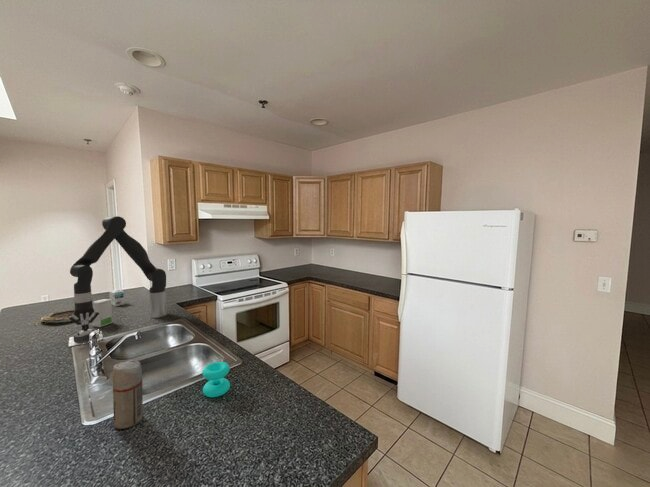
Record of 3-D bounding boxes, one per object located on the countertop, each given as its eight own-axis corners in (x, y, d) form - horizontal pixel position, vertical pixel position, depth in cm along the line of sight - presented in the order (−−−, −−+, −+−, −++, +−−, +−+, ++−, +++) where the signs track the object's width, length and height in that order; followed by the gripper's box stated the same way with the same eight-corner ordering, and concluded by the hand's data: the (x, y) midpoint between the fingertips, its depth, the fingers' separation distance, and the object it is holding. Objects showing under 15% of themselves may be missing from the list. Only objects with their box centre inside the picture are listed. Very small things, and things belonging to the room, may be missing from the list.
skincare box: (100, 327, 168) (98, 302, 167) (91, 326, 169) (89, 302, 168) (113, 322, 176) (111, 299, 175) (104, 321, 177) (103, 298, 176)
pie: (91, 310, 200) (91, 303, 200) (94, 321, 180) (94, 313, 180) (36, 319, 181) (36, 312, 180) (33, 332, 161) (32, 324, 161)
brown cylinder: (124, 412, 95) (120, 357, 93) (149, 411, 95) (146, 357, 94) (107, 431, 86) (103, 371, 85) (134, 430, 87) (130, 370, 85)
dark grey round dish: (101, 331, 162) (101, 325, 161) (103, 339, 151) (102, 333, 151) (69, 338, 152) (69, 332, 152) (68, 347, 142) (68, 340, 142)
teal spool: (218, 357, 113) (235, 364, 108) (219, 380, 114) (235, 388, 109) (196, 368, 105) (212, 376, 99) (197, 393, 106) (213, 402, 100)
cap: (92, 335, 156) (91, 328, 155) (92, 338, 152) (92, 330, 151) (79, 337, 152) (79, 330, 151) (79, 341, 148) (79, 333, 148)
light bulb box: (125, 304, 213) (124, 290, 212) (115, 306, 208) (114, 292, 207) (119, 302, 219) (118, 288, 218) (109, 304, 213) (108, 290, 212)
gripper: (98, 296, 157) (100, 325, 158) (67, 301, 148) (69, 331, 150) (99, 299, 151) (101, 329, 153) (66, 304, 143) (69, 336, 144)
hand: (85, 330), depth 151 cm, fingers closed
